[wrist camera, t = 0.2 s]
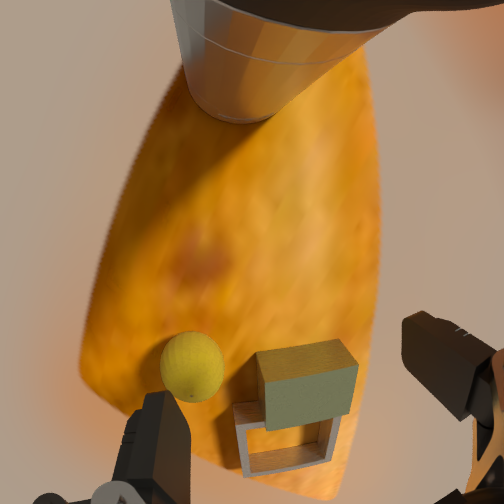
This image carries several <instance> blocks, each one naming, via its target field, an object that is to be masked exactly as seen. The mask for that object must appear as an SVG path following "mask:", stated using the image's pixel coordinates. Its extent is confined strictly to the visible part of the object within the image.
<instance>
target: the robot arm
mask: <svg viewBox="0 0 504 504" xmlns="http://www.w3.org/2000/svg"><path fill="white" fill-rule="evenodd" d="M170 2H171V7H172V13H173V18H174V23H175V27H176V32H177V37H178V42H179V47H180V52H181V57H182V61H183V66H184V72H185V76H186V80H187V84H188V88H189V92H190V94H191V96H192V97H193V99H194V101H195V102H196V103H197V104H198V106H199V107H200V108H201V109H202V110H204V111H205V112H206V113H208V114H209V115H210V116H212V117H214V118H217V119H219V120H221V121H225V122H229V123H235V124H248V123H256V122H259V121H262V120H265V119H267V118H269V117H270V116H272V115H274V114H276V113H277V112H278V111H279V110H280V109H282V108H283V107H284V106H285V105H286V104H288V103H289V102H290V101H291V100H293V99H294V98H295V97H296V96H297V95H299V94H300V93H301V92H302V91H304V90H305V89H306V88H307V87H308V86H310V85H311V84H312V83H313V82H315V81H316V80H317V79H318V78H320V77H321V76H322V75H324V74H325V73H326V72H327V71H329V70H330V69H331V68H333V67H334V66H335V65H337V64H338V63H339V62H341V61H342V60H343V59H345V58H346V57H347V56H349V55H350V54H351V53H353V52H354V51H355V50H357V49H358V48H359V47H361V46H362V45H363V44H365V43H366V42H368V41H369V40H370V39H372V38H373V37H375V36H376V35H378V34H379V33H381V32H382V31H384V30H385V29H387V28H388V27H390V26H391V25H393V24H394V23H396V22H397V21H398V20H400V19H401V18H403V17H405V16H407V15H408V14H410V13H413V12H417V11H456V10H470V9H479V8H484V7H489V6H494V5H499V4H503V3H504V0H170ZM401 355H402V360H403V363H404V366H405V367H406V369H407V370H408V371H409V372H410V373H411V374H412V375H413V376H414V377H415V378H416V379H417V380H418V381H419V382H420V383H421V384H422V385H423V386H424V387H425V388H426V389H428V390H429V392H430V393H432V394H433V395H434V396H435V397H436V398H437V399H438V400H439V401H440V402H441V403H442V404H443V405H444V406H445V407H446V408H447V409H448V410H449V411H450V412H451V413H452V414H453V415H454V416H455V417H456V418H457V419H458V420H459V421H460V422H461V421H462V420H463V419H465V418H466V417H468V416H469V415H470V414H472V415H473V416H474V420H473V453H472V454H473V455H472V469H471V474H470V477H469V479H468V483H467V486H466V491H465V493H464V494H461V493H460V492H459V491H458V489H455V490H454V491H453V492H451V493H450V494H448V495H447V496H445V497H444V498H442V499H441V500H439V501H437V502H436V503H434V504H504V348H503V349H501V350H499V351H496V350H495V349H493V348H492V347H490V346H489V345H487V344H486V343H484V342H483V341H481V340H479V339H478V338H476V337H474V336H473V335H472V334H468V332H467V331H465V330H464V329H460V327H458V326H457V325H456V324H454V323H452V322H451V321H448V320H444V319H440V318H435V317H433V316H431V315H430V314H428V313H426V312H425V311H420V312H417V313H415V314H413V315H411V316H408V317H406V318H404V319H403V321H402V352H401ZM124 434H125V435H123V438H122V445H121V446H120V449H119V453H118V457H117V461H116V465H115V469H114V473H113V477H112V480H111V481H110V482H107V483H105V484H103V485H101V486H100V487H98V488H97V489H96V491H95V492H94V493H93V495H92V498H91V499H88V500H83V501H77V502H72V503H68V502H66V500H64V499H63V498H62V497H61V496H59V495H57V494H54V493H46V494H43V495H41V496H39V497H38V498H37V499H36V500H35V501H34V502H33V504H190V467H191V466H190V465H191V462H190V461H191V433H190V428H189V425H188V423H187V421H186V419H185V417H184V415H183V413H182V412H181V410H180V408H179V406H178V404H177V402H176V400H175V398H174V397H173V395H172V393H171V392H170V391H169V390H165V391H159V392H153V393H147V394H146V396H145V399H144V403H143V407H142V409H140V410H135V412H134V413H133V414H132V416H131V417H130V418H129V419H128V421H127V424H126V427H125V431H124Z"/></svg>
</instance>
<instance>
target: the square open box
mask: <svg viewBox="0 0 504 504" xmlns="http://www.w3.org/2000/svg"><path fill="white" fill-rule="evenodd" d="M256 364H257V382H258V401H250V402H242V403H233V404H232V406H233V413H234V420H235V427H236V434H237V441H238V447H239V454H240V460H241V466H242V472H243V478H246V477H254V476H261V475H268V474H274V473H279V472H285V471H290V470H295V469H300V468H304V467H309V466H313V465H317V464H321V463H325V462H329V461H331V458H332V455H333V451H334V447H335V443H336V439H337V434H338V430H339V426H340V421H341V416H342V415H346V414H349V411H350V407H351V402H352V397H353V393H354V388H355V383H356V377H357V372H358V366H359V364H358V363H357V361H356V360H355V359H354V358H353V356H352V355H351V354H350V352H349V351H348V350H347V349H346V347H345V346H344V345H343V343H342V342H341V341H340V340H339V339H335V340H330V341H324V342H319V343H313V344H307V345H301V346H295V347H289V348H282V349H275V350H268V351H260V352H256ZM319 421H321V422H320V429H319V435H318V441H317V442H314V443H309V444H305V445H300V446H295V447H290V448H285V449H280V450H274V451H268V452H261V453H254V454H248V447H247V438H246V430H248V429H255V428H262V427H265V428H266V431H273V430H279V429H285V428H290V427H295V426H300V425H305V424H310V423H314V422H319Z"/></svg>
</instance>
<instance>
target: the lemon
mask: <svg viewBox="0 0 504 504" xmlns="http://www.w3.org/2000/svg"><path fill="white" fill-rule="evenodd" d="M224 368H225V364H224V359H223V355H222V352H221V350H220V348H219V346H218V345H217V343H216V342H215V341H214V340H213V339H212V338H210V337H209V336H207V335H206V334H203V333H200V332H195V331H187V332H183V333H180V334H178V335H176V336H174V337H173V338H172V339H171V340H170V341H169V342H168V343H167V344H166V346H165V348H164V350H163V352H162V354H161V360H160V372H161V377H162V381H163V383H164V385H165V387H166V389H167V390H169V391H170V392H171V393H172V395H173V396H174V397H176V398H177V399H179V400H182V401H185V402H189V403H196V402H202V401H204V400H207V399H209V398H210V397H212V396H213V395H214V394H215V393H216V392H217V391H218V389H219V387H220V385H221V383H222V381H223V377H224Z"/></svg>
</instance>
